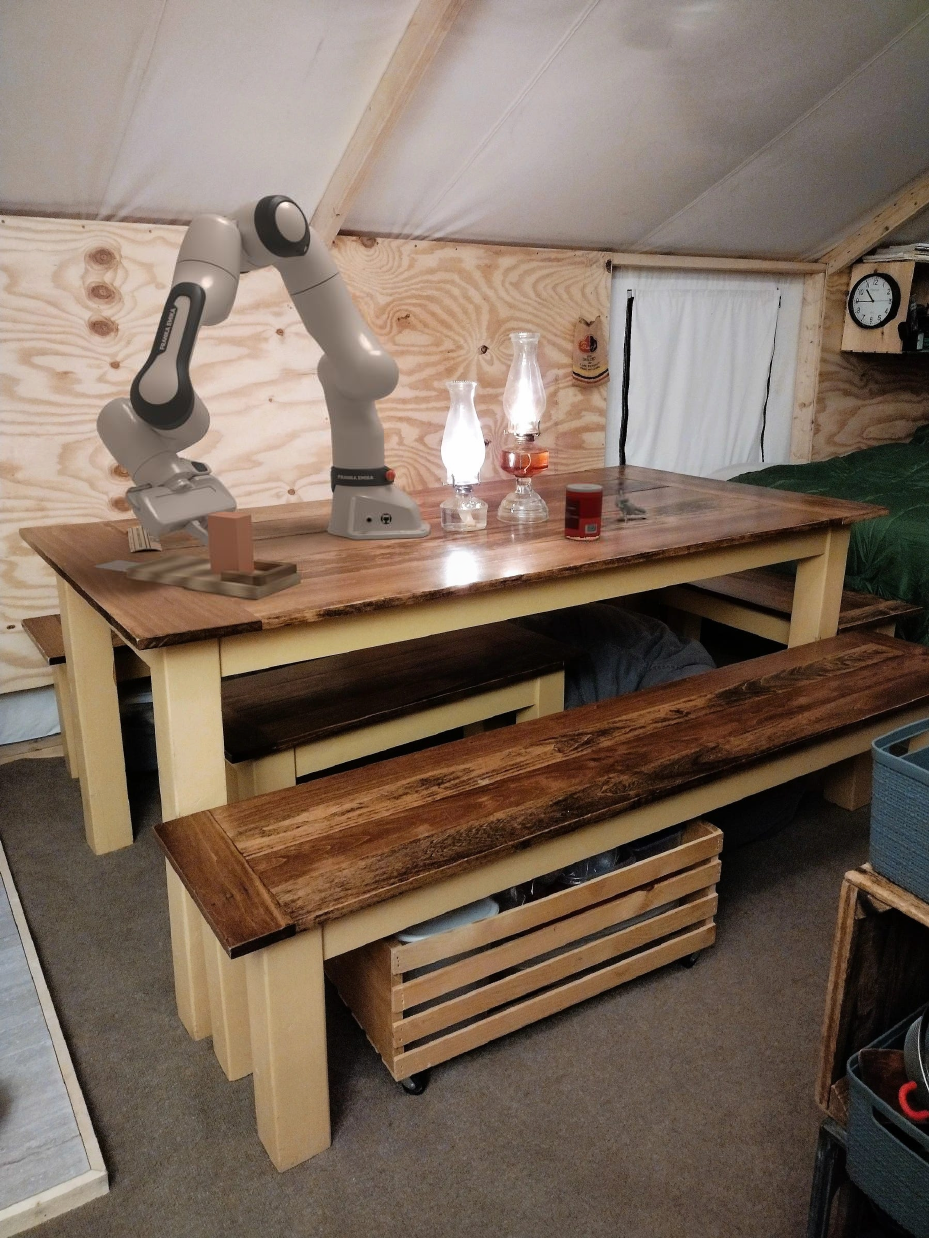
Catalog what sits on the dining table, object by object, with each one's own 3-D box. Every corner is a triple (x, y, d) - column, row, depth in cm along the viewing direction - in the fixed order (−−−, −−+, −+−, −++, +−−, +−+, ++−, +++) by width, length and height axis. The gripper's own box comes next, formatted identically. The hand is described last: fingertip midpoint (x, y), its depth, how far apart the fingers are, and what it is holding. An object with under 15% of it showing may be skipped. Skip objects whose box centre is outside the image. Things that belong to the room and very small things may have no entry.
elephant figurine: (656, 523, 215) (625, 512, 211) (640, 538, 219) (609, 527, 215) (650, 491, 220) (620, 479, 217) (635, 506, 225) (604, 495, 221)
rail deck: (126, 579, 161) (124, 559, 160) (175, 564, 171) (173, 546, 170) (257, 599, 149) (256, 578, 148) (300, 582, 160) (299, 563, 159)
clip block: (211, 573, 157) (207, 515, 154) (226, 568, 161) (222, 511, 158) (239, 577, 155) (235, 518, 152) (254, 572, 158) (251, 514, 155)
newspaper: (127, 534, 200) (126, 526, 199) (161, 532, 202) (160, 524, 201) (130, 558, 178) (129, 549, 178) (168, 555, 181) (168, 547, 180)
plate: (93, 568, 168) (93, 566, 167) (118, 561, 173) (118, 560, 173) (126, 573, 164) (126, 571, 164) (150, 566, 170) (150, 564, 169)
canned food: (604, 535, 200) (607, 485, 197) (593, 542, 194) (596, 490, 190) (571, 532, 204) (573, 482, 200) (559, 539, 197) (561, 487, 193)
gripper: (129, 476, 148) (181, 542, 147) (213, 462, 166) (260, 521, 165) (111, 502, 151) (162, 566, 150) (195, 485, 169) (242, 543, 168)
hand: (214, 542), depth 158 cm, fingers closed, pressing on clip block
